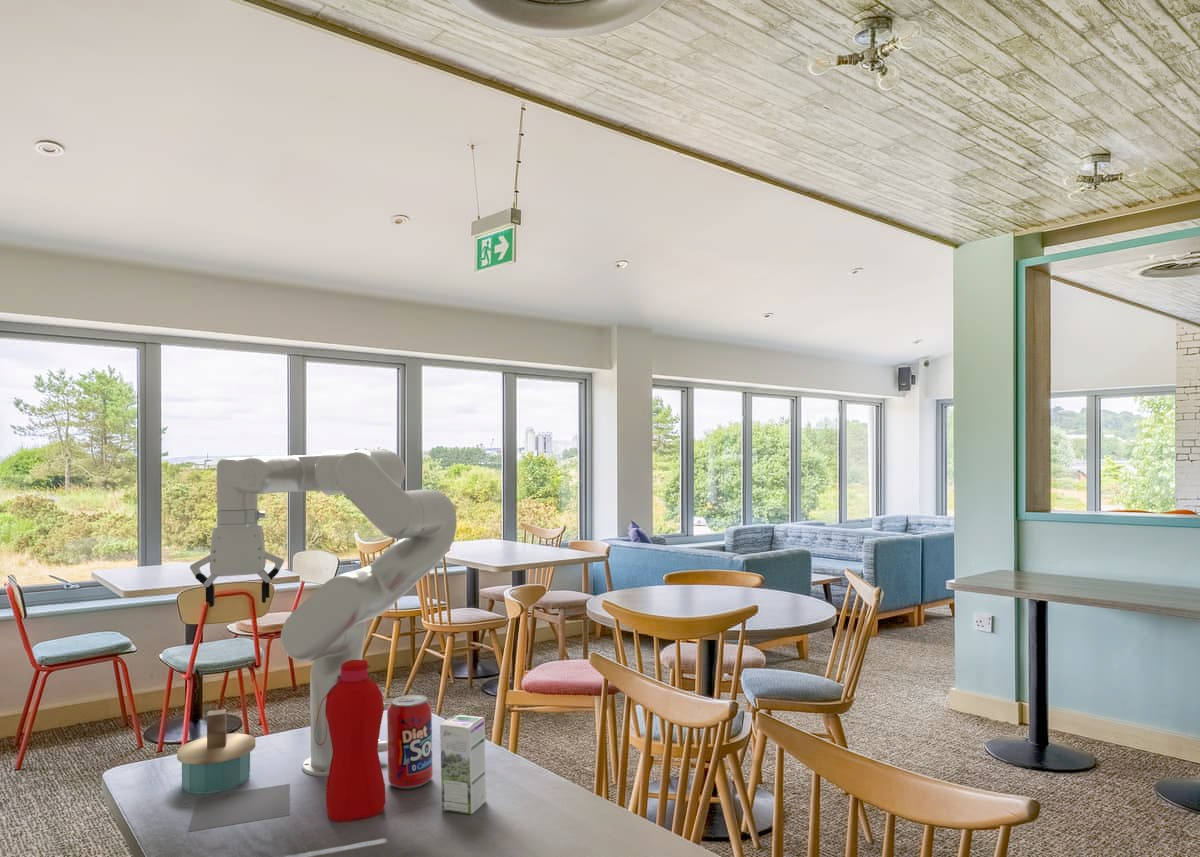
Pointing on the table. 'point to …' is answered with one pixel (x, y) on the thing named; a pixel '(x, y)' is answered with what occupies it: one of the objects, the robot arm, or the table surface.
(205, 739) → the lid
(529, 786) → the table surface
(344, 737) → the water bottle
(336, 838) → the table surface
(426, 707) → the soda can
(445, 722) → the syrup box
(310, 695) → the robot arm
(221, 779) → the bowl
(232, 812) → the mat
